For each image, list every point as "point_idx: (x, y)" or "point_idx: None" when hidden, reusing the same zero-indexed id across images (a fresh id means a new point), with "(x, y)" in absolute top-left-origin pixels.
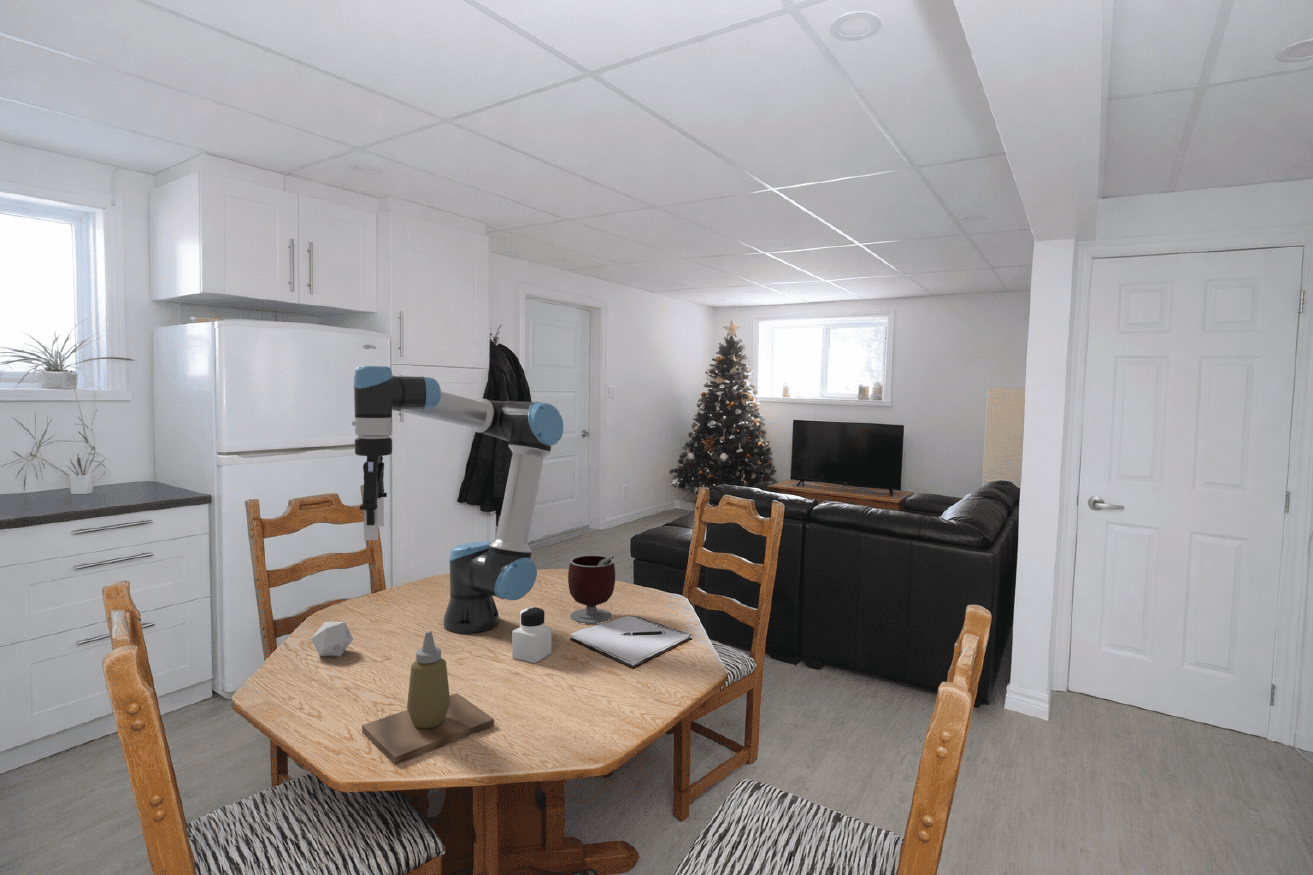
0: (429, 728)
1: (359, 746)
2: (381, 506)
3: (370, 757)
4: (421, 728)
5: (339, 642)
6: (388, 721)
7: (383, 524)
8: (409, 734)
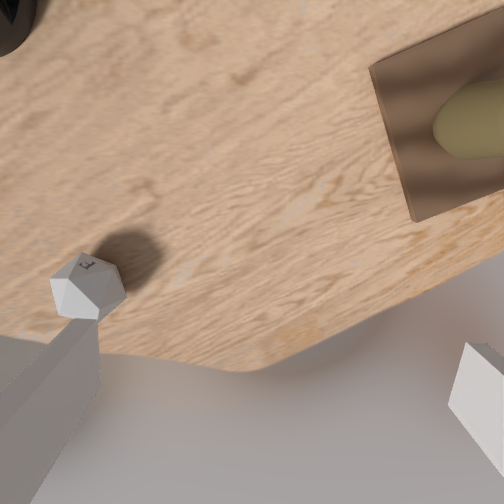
0: None
1: (448, 222)
2: (6, 440)
3: (485, 207)
4: None
5: (116, 276)
6: (424, 185)
7: (91, 325)
8: None
